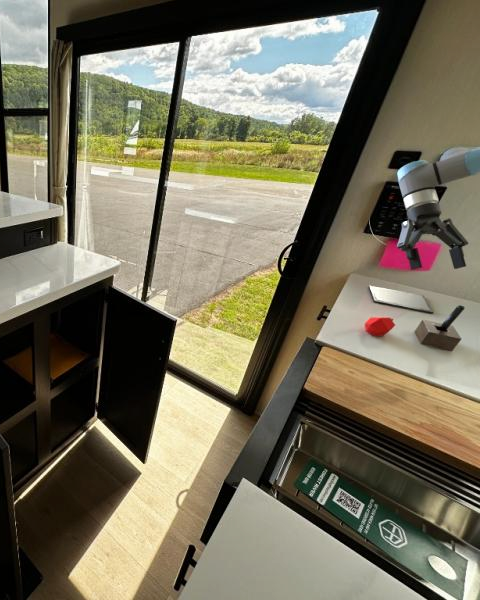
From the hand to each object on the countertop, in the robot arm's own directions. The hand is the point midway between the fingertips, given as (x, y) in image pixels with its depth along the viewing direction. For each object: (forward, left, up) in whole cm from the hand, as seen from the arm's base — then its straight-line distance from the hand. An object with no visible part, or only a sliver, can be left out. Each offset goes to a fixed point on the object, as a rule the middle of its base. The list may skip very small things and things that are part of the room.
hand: (438, 268), depth 100 cm
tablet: (-1, -17, -21) cm, 27 cm away
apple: (+10, +12, -21) cm, 26 cm away
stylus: (-5, +9, -21) cm, 24 cm away
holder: (-5, +9, -21) cm, 24 cm away
